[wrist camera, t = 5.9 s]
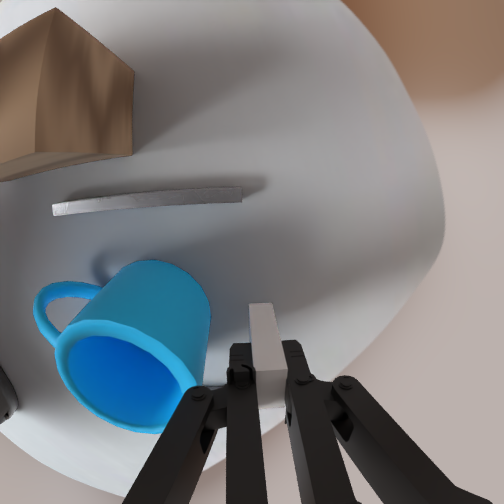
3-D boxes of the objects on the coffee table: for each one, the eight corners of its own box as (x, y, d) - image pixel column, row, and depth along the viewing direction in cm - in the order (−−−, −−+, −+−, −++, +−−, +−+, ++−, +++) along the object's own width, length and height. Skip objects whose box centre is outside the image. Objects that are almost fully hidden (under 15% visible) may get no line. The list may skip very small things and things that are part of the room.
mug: (227, 285, 19) (224, 360, 11) (192, 368, 21) (179, 447, 13) (76, 223, 17) (2, 258, 9) (63, 313, 19) (12, 369, 11)
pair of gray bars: (109, 385, 22) (105, 396, 20) (63, 201, 17) (52, 204, 15) (247, 391, 22) (248, 404, 21) (241, 186, 17) (241, 188, 16)
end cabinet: (132, 155, 16) (24, 152, 6) (10, 180, 16) (-86, 203, 5) (134, 71, 14) (48, 1, 4) (11, 111, 14) (-81, 105, 4)
